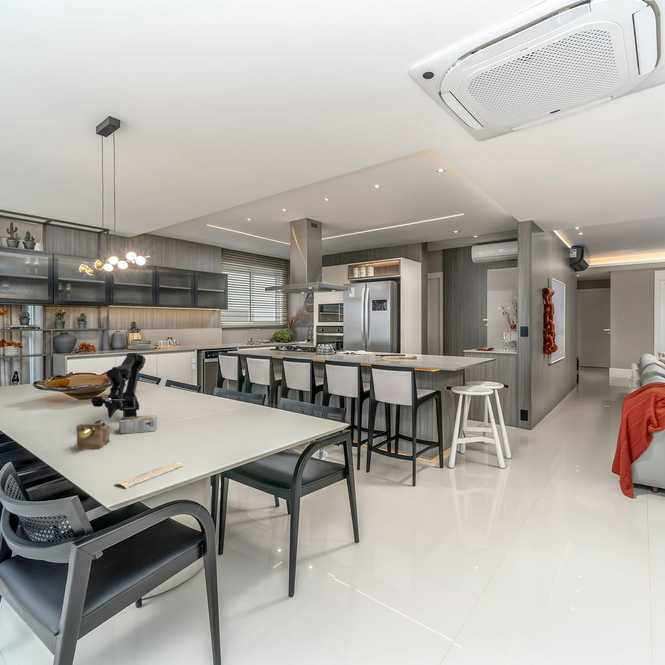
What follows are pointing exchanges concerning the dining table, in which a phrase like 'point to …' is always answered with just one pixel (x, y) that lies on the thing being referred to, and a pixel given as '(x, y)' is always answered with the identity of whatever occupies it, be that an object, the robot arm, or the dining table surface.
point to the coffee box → (137, 424)
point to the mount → (93, 437)
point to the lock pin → (90, 430)
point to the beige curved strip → (150, 475)
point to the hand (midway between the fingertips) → (109, 417)
